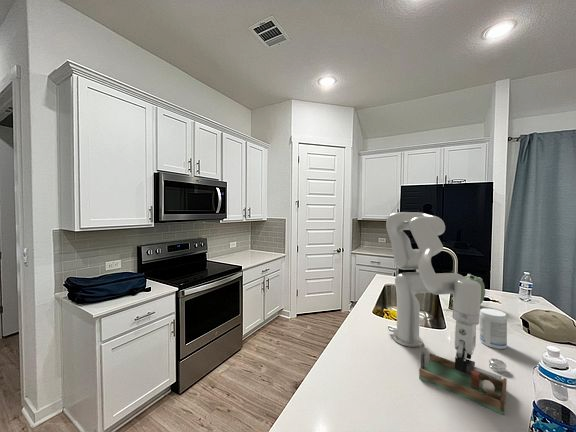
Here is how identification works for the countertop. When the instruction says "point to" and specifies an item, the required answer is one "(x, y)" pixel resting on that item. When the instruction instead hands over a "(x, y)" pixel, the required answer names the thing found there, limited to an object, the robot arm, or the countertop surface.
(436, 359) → the pitch
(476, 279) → the cabbage
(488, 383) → the ball
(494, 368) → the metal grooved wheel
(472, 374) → the multicoloured piece
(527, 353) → the countertop surface
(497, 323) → the supplement tub
